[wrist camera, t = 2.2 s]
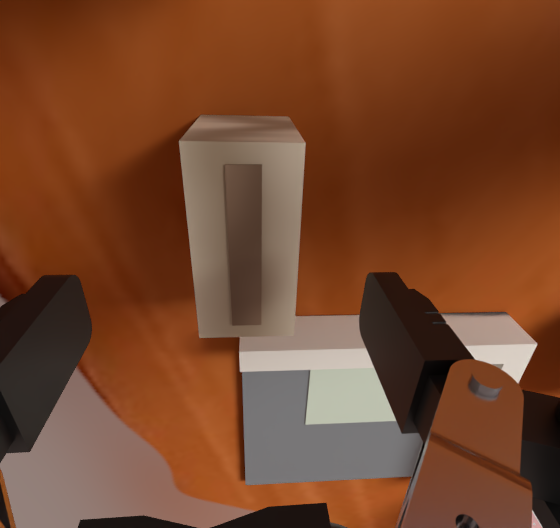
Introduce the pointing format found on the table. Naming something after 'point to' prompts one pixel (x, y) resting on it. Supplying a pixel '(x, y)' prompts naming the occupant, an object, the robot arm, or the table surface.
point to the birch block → (244, 222)
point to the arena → (343, 398)
